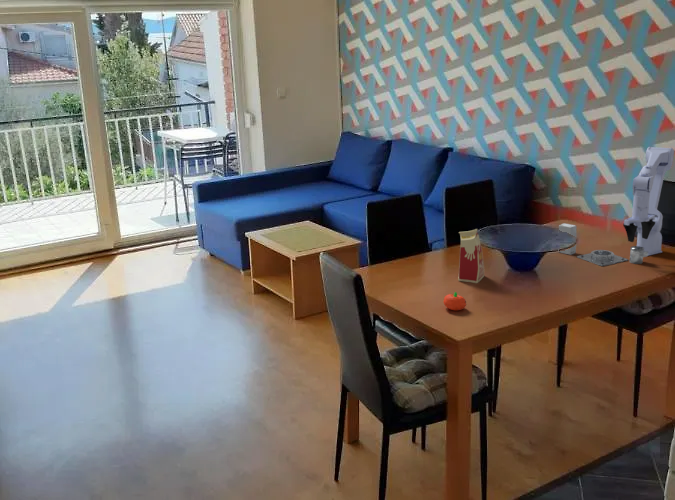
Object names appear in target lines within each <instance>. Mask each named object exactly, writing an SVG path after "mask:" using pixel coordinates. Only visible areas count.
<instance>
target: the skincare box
mask: <svg viewBox="0 0 675 500" xmlns="http://www.w3.org/2000/svg"><path fill="white" fill-rule="evenodd" d="M577 227H578V226H577V225H575V224H570V223H566V222H565V223H561V224H559V225H558V231H559V230H560V231H562V232H567V233H569V234H571V235H573V236H575V237H576V238H577ZM559 253H560V254H566V255H570V256H571V255H574V254H576V253H577V244H576V245H575V246H574V247H572V248H570V249H568V250H565V251H560V252H559Z"/></svg>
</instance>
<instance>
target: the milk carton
mask: <svg viewBox="0 0 675 500" xmlns="http://www.w3.org/2000/svg"><path fill="white" fill-rule="evenodd" d="M458 234H459V236H460V247H459V260H458V261H459V262H458V265H459V266H458V274H457V275H458V276H457V278H458V282H467V283H473V284H478V283H480V281H482V279H483V278H484V277H485V262H484V255H483V249H482V248H483V247H482V245H481V244H482V243H481V240H480V235H479V232H478V228H475V229H472V230H468V231H459V232H458Z"/></svg>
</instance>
